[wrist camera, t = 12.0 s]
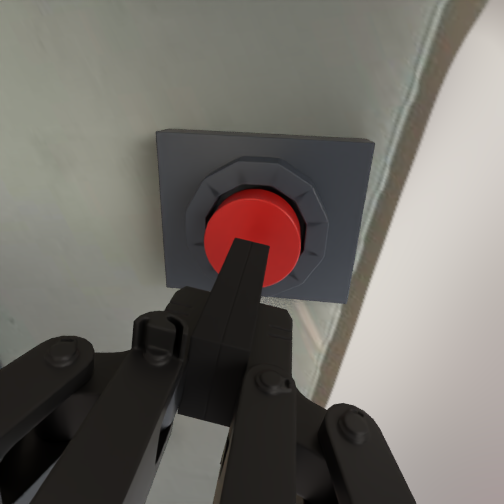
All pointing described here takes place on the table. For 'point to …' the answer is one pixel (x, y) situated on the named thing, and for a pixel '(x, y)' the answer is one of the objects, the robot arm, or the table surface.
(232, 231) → the button
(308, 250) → the button box
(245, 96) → the table surface
